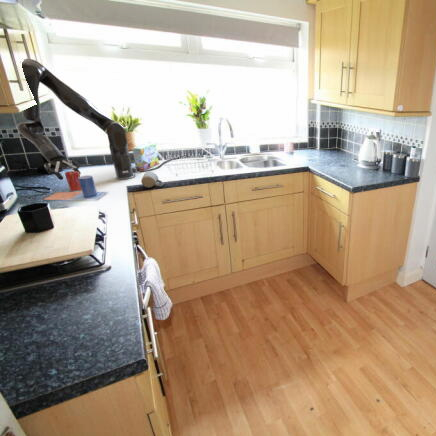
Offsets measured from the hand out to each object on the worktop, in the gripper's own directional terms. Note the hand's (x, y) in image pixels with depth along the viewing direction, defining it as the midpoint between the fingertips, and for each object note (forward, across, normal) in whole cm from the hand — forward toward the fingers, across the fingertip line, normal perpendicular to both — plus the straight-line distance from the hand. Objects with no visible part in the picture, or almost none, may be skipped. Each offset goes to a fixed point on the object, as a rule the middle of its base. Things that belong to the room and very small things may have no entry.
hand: (71, 177), depth 171 cm
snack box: (0, +52, +10) cm, 53 cm away
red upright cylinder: (+6, 0, +4) cm, 7 cm away
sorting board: (+13, -6, -3) cm, 15 cm away
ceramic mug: (+26, +25, -16) cm, 40 cm away
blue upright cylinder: (+17, -3, -8) cm, 19 cm away
